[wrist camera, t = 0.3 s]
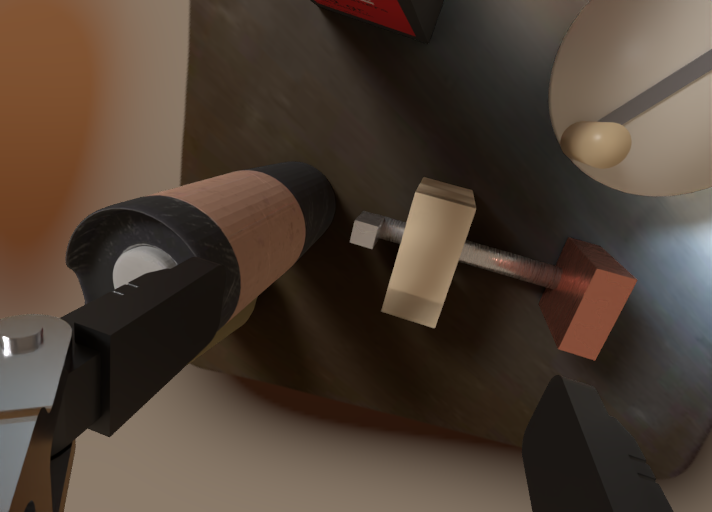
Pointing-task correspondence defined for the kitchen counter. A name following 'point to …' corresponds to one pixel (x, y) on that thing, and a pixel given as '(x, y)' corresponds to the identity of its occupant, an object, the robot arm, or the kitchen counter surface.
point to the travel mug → (208, 231)
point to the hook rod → (543, 282)
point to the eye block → (429, 251)
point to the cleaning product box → (391, 14)
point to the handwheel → (637, 95)
